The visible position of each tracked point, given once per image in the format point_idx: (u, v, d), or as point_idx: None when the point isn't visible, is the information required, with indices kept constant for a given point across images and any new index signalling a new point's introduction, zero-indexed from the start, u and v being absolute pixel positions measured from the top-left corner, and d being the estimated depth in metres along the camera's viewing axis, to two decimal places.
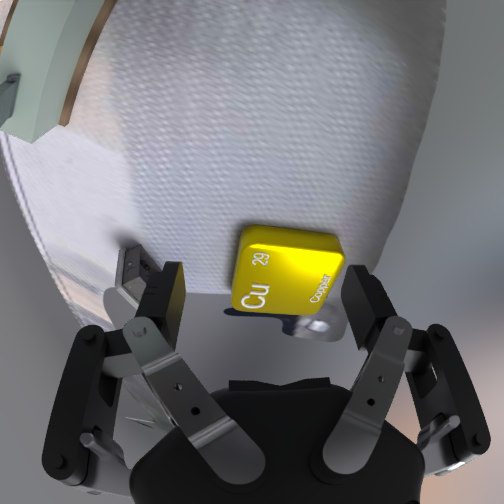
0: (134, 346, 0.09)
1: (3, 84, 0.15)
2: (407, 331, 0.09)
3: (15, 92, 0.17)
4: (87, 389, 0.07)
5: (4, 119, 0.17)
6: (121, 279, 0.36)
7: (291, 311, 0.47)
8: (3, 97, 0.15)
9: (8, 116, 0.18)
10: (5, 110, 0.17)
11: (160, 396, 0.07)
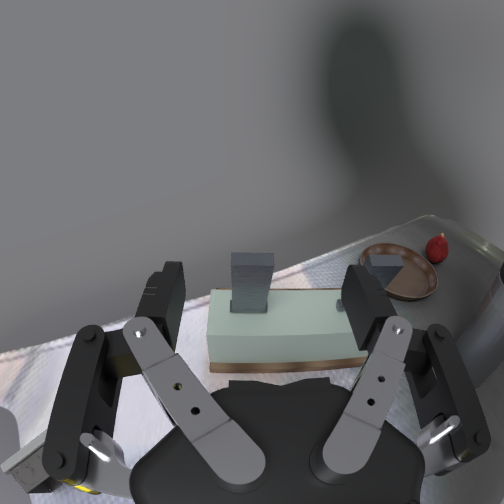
0: (134, 346, 0.09)
1: None
2: (407, 331, 0.09)
3: (253, 311, 0.35)
4: (87, 389, 0.07)
5: (235, 303, 0.33)
6: None
7: None
8: (262, 298, 0.33)
9: (233, 307, 0.34)
10: (245, 303, 0.33)
11: (160, 396, 0.07)
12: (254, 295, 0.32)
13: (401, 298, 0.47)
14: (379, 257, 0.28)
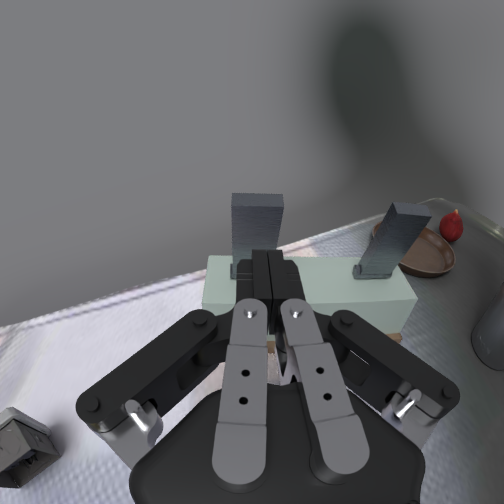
0: (252, 326, 0.10)
1: None
2: (305, 314, 0.10)
3: None
4: (165, 366, 0.08)
5: None
6: (20, 420, 0.14)
7: None
8: None
9: (234, 271, 0.30)
10: None
11: (225, 372, 0.08)
12: None
13: (419, 274, 0.42)
14: (404, 205, 0.23)
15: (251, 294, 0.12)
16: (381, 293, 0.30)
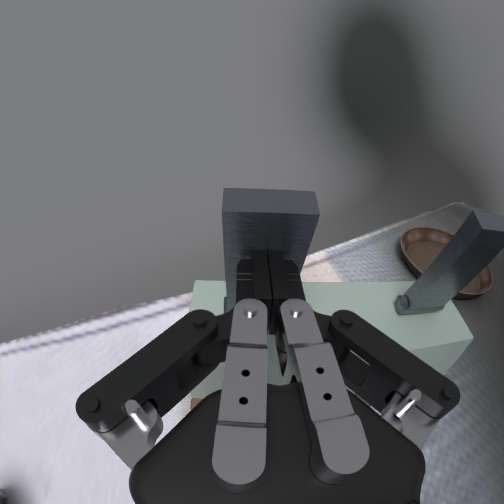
0: (252, 326, 0.10)
1: None
2: (305, 314, 0.10)
3: None
4: (165, 366, 0.08)
5: (234, 302, 0.18)
6: None
7: None
8: None
9: None
10: None
11: (225, 372, 0.08)
12: None
13: (457, 295, 0.32)
14: (486, 216, 0.13)
15: (251, 294, 0.12)
16: (432, 333, 0.19)
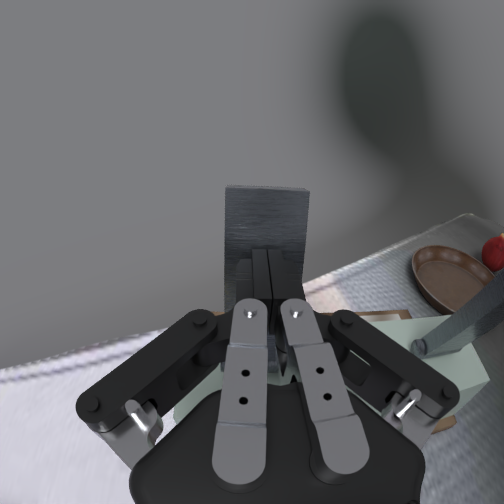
0: (252, 326, 0.10)
1: None
2: (305, 314, 0.10)
3: (267, 365, 0.17)
4: (165, 366, 0.08)
5: None
6: None
7: None
8: None
9: None
10: None
11: (225, 372, 0.08)
12: None
13: None
14: None
15: (251, 294, 0.12)
16: None
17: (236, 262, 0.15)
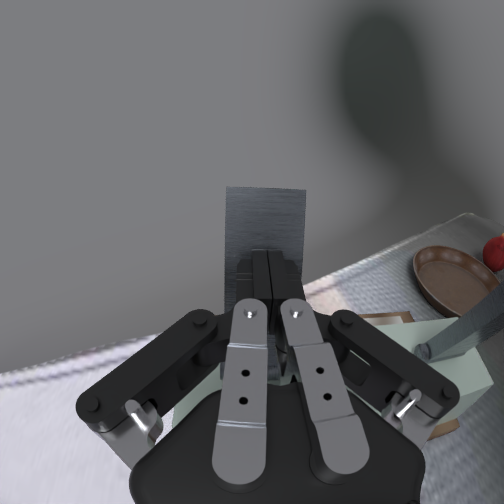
0: (252, 326, 0.10)
1: None
2: (305, 314, 0.10)
3: (269, 371, 0.16)
4: (164, 366, 0.08)
5: None
6: None
7: None
8: None
9: None
10: None
11: (225, 372, 0.08)
12: None
13: None
14: None
15: (251, 294, 0.12)
16: None
17: (236, 260, 0.15)
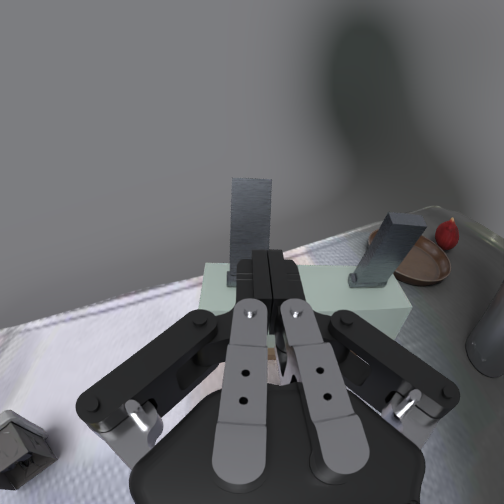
0: (252, 326, 0.10)
1: None
2: (305, 314, 0.10)
3: None
4: (165, 366, 0.08)
5: (234, 258, 0.30)
6: (17, 422, 0.14)
7: None
8: (263, 246, 0.30)
9: (231, 270, 0.30)
10: (244, 258, 0.30)
11: (225, 372, 0.08)
12: (254, 238, 0.30)
13: (414, 282, 0.42)
14: (399, 215, 0.24)
15: (251, 294, 0.12)
16: (375, 301, 0.30)
17: (236, 214, 0.29)
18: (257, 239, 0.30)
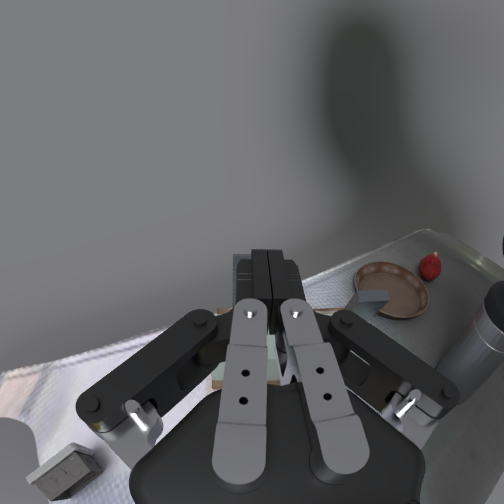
0: (252, 326, 0.10)
1: None
2: (305, 314, 0.10)
3: None
4: (164, 366, 0.08)
5: None
6: (78, 450, 0.22)
7: None
8: None
9: None
10: None
11: (225, 372, 0.08)
12: None
13: (392, 317, 0.50)
14: (366, 293, 0.31)
15: (251, 294, 0.12)
16: None
17: None
18: None
